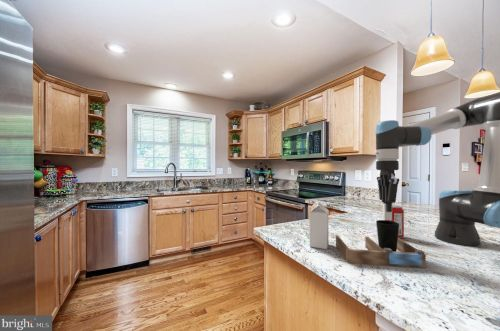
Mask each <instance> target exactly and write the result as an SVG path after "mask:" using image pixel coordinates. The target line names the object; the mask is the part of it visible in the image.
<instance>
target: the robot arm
mask: <svg viewBox="0 0 500 331" xmlns="http://www.w3.org/2000/svg"><path fill="white" fill-rule="evenodd" d="M478 125H480V126H481V127H482V128H484V129H485V133H484V135H485V136H484V142H483V151H482V157H481V163H480V164H481V165H480V171H479V176H478V178H479V180H478V186H476V187H475V188H473V189H472V190H441V191H440V192H439V197H438V210H439V213H438V215H439V217H438V219H439V221H438V224H437V225H436V228H435V230H434V237H435V238H436V239H437V240H440V241H443V242H445V243H450V244H455V245H460V246H469V247H478V246H481V244H482V240H481V237H480V235H479V232H478V230H477V228H476V224H475V223H477V224H481V225H485V226H488V227H489V228H490V227H492V228H499V229H500V91H498V92H495V93H493V94H489V95H485V96H481V97H478V98H475V99H472V100H470V101H468V102H466V103H464V104H463V103H462V104H461V105H458V106H456V107H453V108H451V109H448V110H446V112H445V113H441V114H439V115H436V116H433V117H430V118H427V119H423V120H420V121H417V122H414V123H412V124H408V125H405V126H402V125H401V126H400V125H399V121H397V120H391V119H390V120H382V121H379V122H377V124H376V126H375V153H374V154H375V158H376V161H375V169H376V171H379V176H377V177H376V180H377V186H378V188H377V189H378V196H379V200H380V201H381V202H382V220H392V205H394V204H395V203H396V201H397V195H398V187H399V186H398V185H399V183H400V178H397V177H396V173H395V172H396V171H398V170H399V169H400V166H399V165H400V164H399V158H400V154H399V153H400V152H399V149H400V148H402V147H408V146H411V147H412V146H425V145H427V144H428V143H429V142H430V141H432V140H431V139H432V136H433V135H436V134H439V133H441V132H445V131H449V130H452V129H453V130H458V129H461V128H465V127H466V128H467V127H470V126H478Z"/></svg>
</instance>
